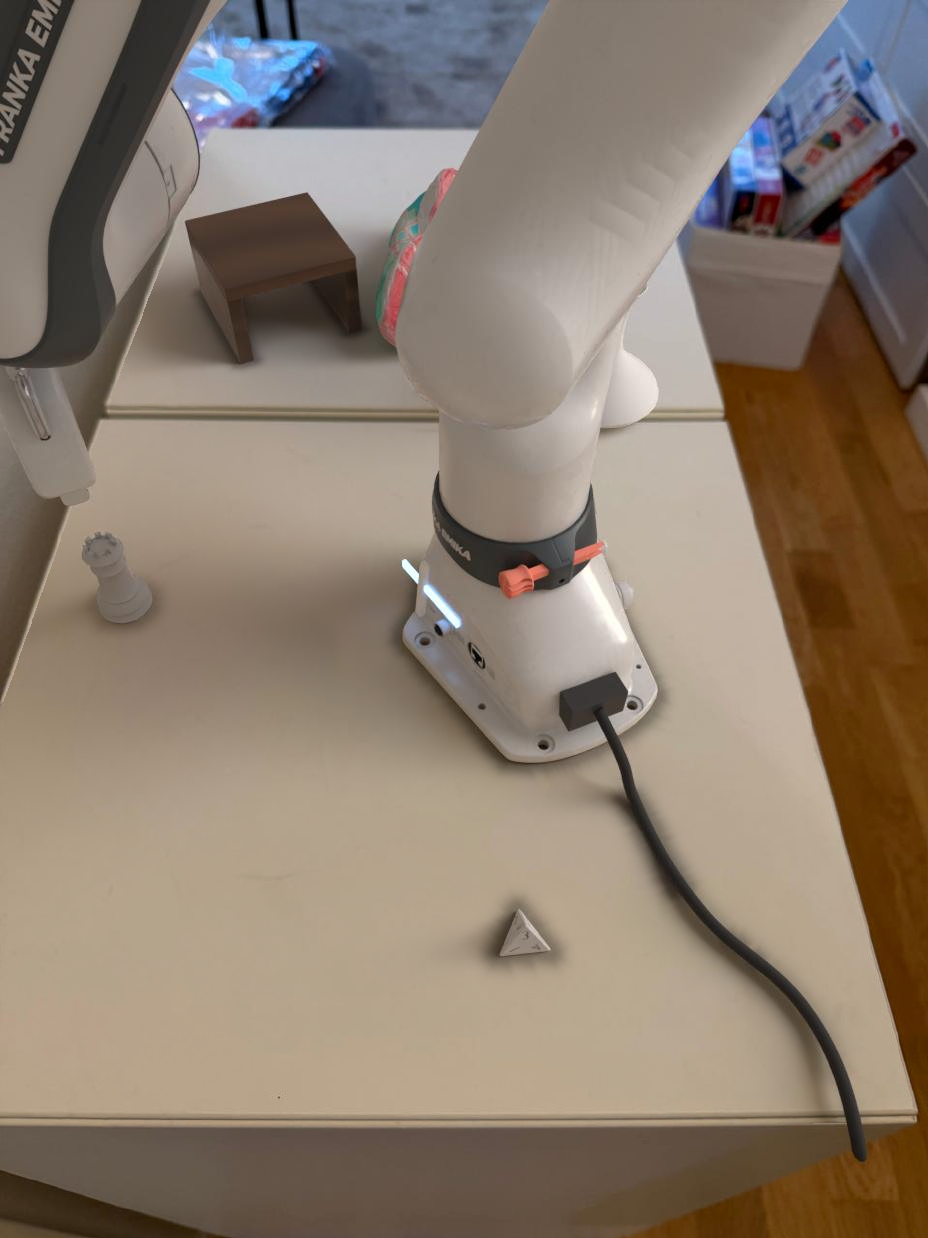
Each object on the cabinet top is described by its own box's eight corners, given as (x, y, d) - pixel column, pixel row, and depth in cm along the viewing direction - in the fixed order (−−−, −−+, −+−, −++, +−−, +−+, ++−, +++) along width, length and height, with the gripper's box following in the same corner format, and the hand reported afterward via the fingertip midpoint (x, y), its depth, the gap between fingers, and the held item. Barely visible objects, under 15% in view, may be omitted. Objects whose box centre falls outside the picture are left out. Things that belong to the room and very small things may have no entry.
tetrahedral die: (534, 976, 62) (552, 970, 59) (498, 955, 62) (515, 949, 59) (552, 929, 64) (570, 921, 61) (517, 908, 63) (534, 900, 61)
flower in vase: (661, 440, 92) (721, 199, 72) (547, 437, 92) (575, 195, 72) (648, 358, 100) (698, 120, 80) (543, 355, 100) (567, 116, 80)
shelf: (362, 329, 102) (355, 255, 95) (240, 364, 98) (224, 289, 91) (316, 264, 110) (307, 191, 103) (202, 294, 106) (184, 220, 99)
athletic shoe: (434, 230, 116) (369, 161, 108) (493, 196, 111) (429, 122, 103) (407, 401, 106) (333, 340, 97) (471, 374, 100) (398, 306, 92)
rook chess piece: (154, 582, 80) (129, 519, 74) (153, 623, 78) (127, 561, 71) (101, 588, 80) (72, 525, 73) (98, 629, 77) (67, 568, 71)
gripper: (81, 368, 50) (144, 539, 61) (9, 185, 60) (74, 359, 71) (-42, 400, 48) (46, 570, 59) (-94, 205, 59) (-11, 380, 70)
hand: (60, 453), depth 65 cm, fingers open, 8 cm apart
